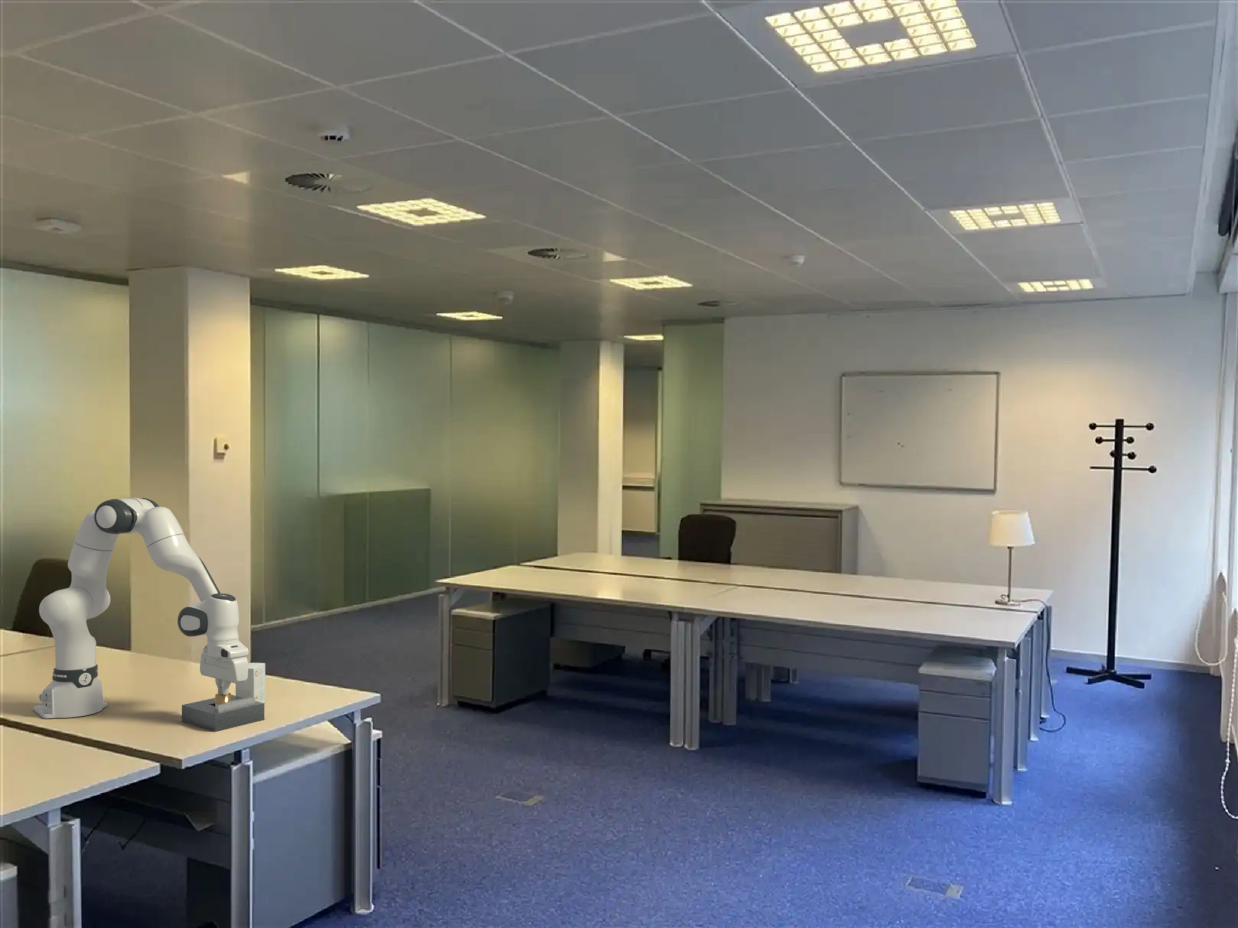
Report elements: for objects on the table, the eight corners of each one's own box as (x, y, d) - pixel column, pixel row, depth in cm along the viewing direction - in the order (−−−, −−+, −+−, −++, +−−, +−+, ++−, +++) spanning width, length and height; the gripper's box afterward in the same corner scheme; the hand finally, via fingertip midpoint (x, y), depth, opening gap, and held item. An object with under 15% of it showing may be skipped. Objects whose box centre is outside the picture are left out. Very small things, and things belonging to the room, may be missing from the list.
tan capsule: (212, 720, 292) (212, 694, 292) (225, 717, 296) (225, 691, 296) (220, 723, 290) (220, 696, 290) (233, 720, 293) (233, 693, 293)
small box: (246, 702, 314) (246, 662, 314) (265, 702, 314) (265, 662, 314) (234, 708, 306) (234, 667, 306) (254, 709, 306) (254, 668, 306)
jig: (181, 721, 292) (181, 698, 292) (230, 710, 305) (230, 688, 304) (215, 731, 281) (215, 707, 281) (264, 719, 294) (264, 696, 294)
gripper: (194, 645, 296) (194, 690, 296) (232, 653, 284) (232, 700, 284) (213, 642, 301) (213, 686, 301) (252, 650, 289) (252, 696, 289)
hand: (223, 693), depth 293 cm, fingers closed
